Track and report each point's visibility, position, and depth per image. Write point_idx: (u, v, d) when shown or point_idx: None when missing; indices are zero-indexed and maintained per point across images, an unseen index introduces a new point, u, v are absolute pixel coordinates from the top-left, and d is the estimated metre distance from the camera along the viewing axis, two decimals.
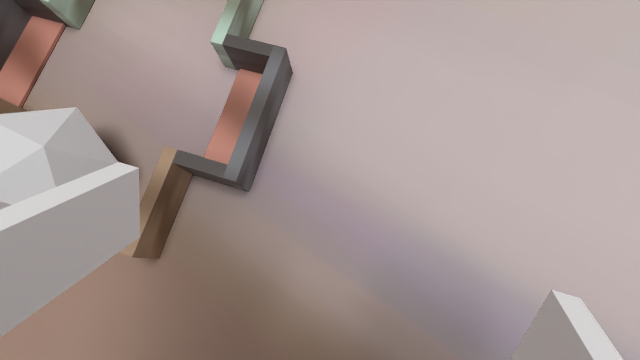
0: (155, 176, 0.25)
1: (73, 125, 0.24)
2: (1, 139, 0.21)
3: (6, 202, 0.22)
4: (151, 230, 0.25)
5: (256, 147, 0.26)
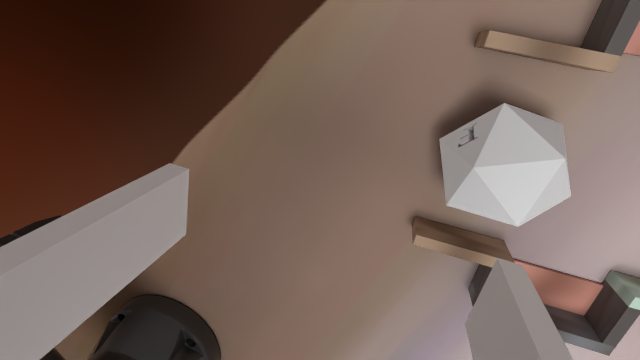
0: (484, 256, 0.28)
1: None
2: (531, 185, 0.21)
3: (463, 181, 0.23)
4: None
5: None
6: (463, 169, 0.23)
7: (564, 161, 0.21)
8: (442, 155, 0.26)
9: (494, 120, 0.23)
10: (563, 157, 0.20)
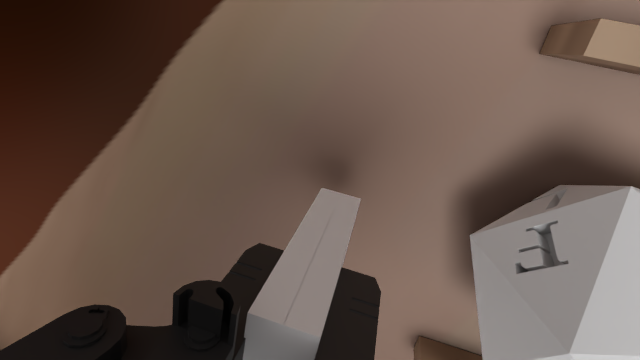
0: None
1: None
2: None
3: (531, 357, 0.10)
4: None
5: None
6: (534, 335, 0.10)
7: None
8: (476, 270, 0.13)
9: (610, 228, 0.10)
10: None
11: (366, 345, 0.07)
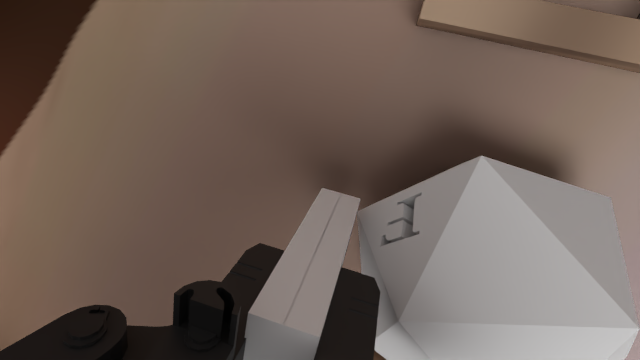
0: None
1: None
2: None
3: None
4: None
5: None
6: (385, 306, 0.10)
7: (635, 332, 0.08)
8: (360, 246, 0.13)
9: (456, 198, 0.10)
10: (633, 323, 0.07)
11: (366, 345, 0.07)
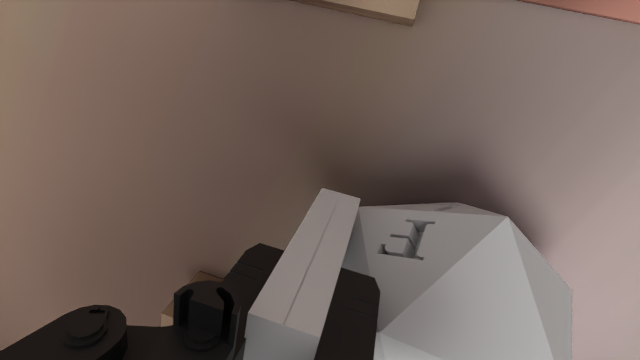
0: None
1: None
2: None
3: None
4: None
5: None
6: None
7: None
8: None
9: (471, 244, 0.10)
10: None
11: (366, 345, 0.07)
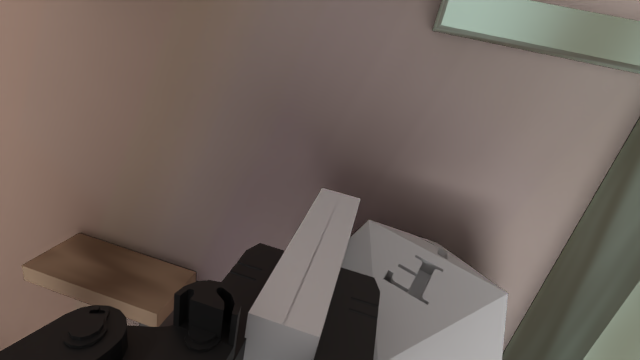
0: (116, 302, 0.17)
1: None
2: None
3: None
4: None
5: None
6: None
7: None
8: None
9: (474, 307, 0.11)
10: None
11: (365, 345, 0.07)
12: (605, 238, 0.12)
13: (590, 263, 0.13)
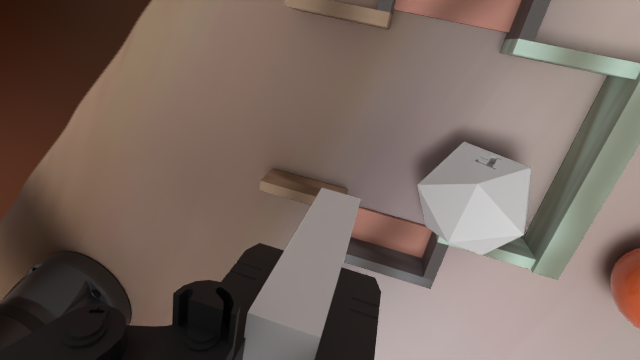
0: None
1: None
2: (487, 229, 0.25)
3: (454, 184, 0.25)
4: None
5: None
6: (465, 177, 0.25)
7: (520, 235, 0.24)
8: (453, 153, 0.27)
9: (515, 170, 0.25)
10: (523, 233, 0.24)
11: (366, 345, 0.07)
12: (582, 150, 0.27)
13: (575, 163, 0.27)
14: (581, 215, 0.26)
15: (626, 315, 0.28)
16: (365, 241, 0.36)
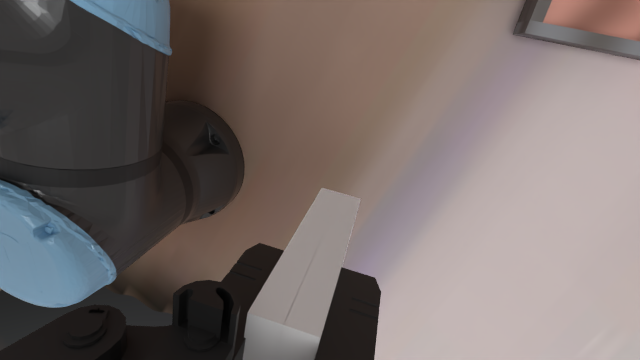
0: None
1: None
2: None
3: None
4: None
5: (557, 41, 0.30)
6: None
7: None
8: None
9: None
10: None
11: (366, 345, 0.07)
12: None
13: None
14: None
15: None
16: None
